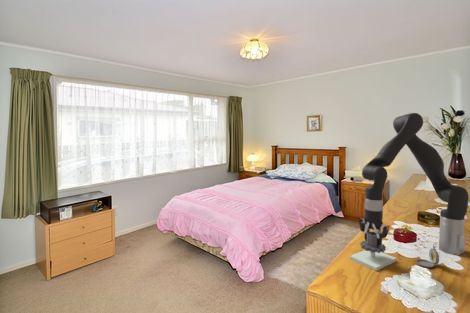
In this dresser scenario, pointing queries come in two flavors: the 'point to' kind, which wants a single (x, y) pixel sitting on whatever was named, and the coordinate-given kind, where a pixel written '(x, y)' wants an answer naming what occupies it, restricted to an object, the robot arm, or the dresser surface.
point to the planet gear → (372, 243)
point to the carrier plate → (373, 259)
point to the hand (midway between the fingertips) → (372, 243)
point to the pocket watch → (434, 260)
